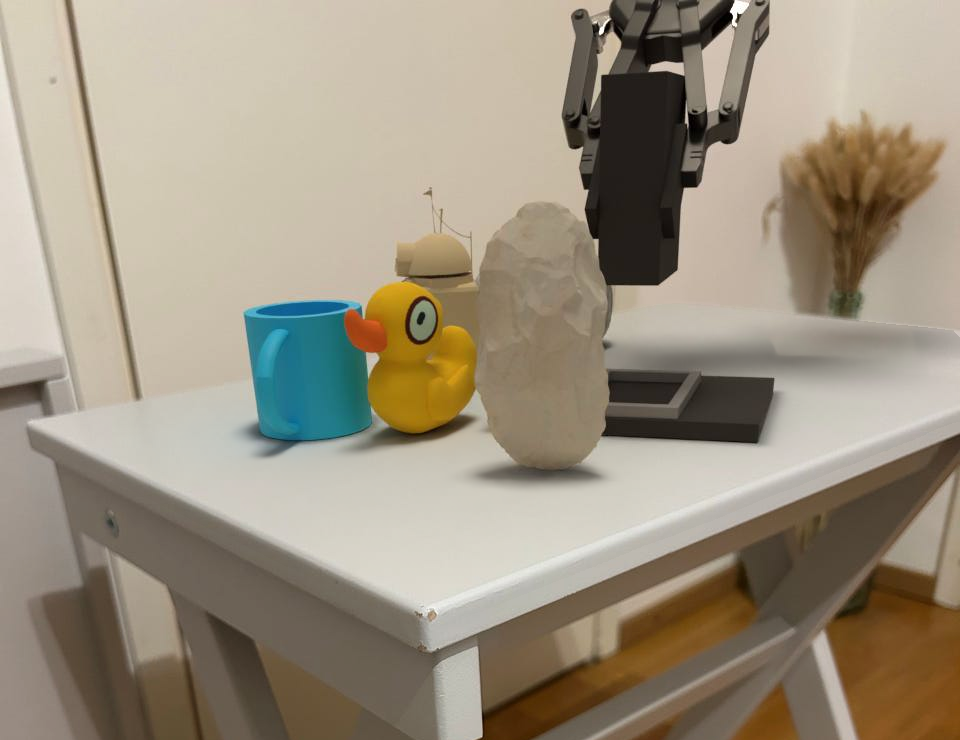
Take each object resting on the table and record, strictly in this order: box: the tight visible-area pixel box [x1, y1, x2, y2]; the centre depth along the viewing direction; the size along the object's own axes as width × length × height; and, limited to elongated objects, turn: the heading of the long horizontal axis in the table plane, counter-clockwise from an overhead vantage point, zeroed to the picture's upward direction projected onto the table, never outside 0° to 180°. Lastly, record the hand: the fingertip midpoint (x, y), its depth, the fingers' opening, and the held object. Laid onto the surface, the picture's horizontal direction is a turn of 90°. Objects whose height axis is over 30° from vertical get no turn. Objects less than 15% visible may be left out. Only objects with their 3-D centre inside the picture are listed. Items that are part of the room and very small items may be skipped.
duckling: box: [344, 281, 477, 434], centre depth 68 cm, size 11×5×10 cm, turn 140°
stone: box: [474, 200, 610, 471], centre depth 57 cm, size 8×5×15 cm
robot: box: [394, 186, 481, 361], centre depth 82 cm, size 10×8×15 cm
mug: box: [243, 299, 373, 441], centre depth 69 cm, size 12×8×8 cm
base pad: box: [601, 368, 775, 443], centre depth 72 cm, size 18×14×2 cm
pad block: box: [597, 70, 687, 287], centre depth 65 cm, size 4×8×12 cm, turn 161°
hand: (630, 223), depth 63 cm, fingers closed on pad block, 4 cm apart
